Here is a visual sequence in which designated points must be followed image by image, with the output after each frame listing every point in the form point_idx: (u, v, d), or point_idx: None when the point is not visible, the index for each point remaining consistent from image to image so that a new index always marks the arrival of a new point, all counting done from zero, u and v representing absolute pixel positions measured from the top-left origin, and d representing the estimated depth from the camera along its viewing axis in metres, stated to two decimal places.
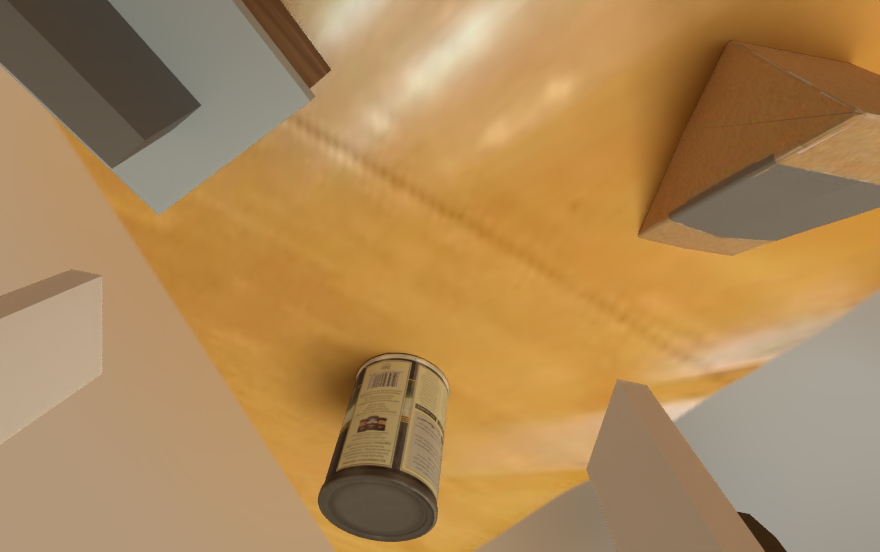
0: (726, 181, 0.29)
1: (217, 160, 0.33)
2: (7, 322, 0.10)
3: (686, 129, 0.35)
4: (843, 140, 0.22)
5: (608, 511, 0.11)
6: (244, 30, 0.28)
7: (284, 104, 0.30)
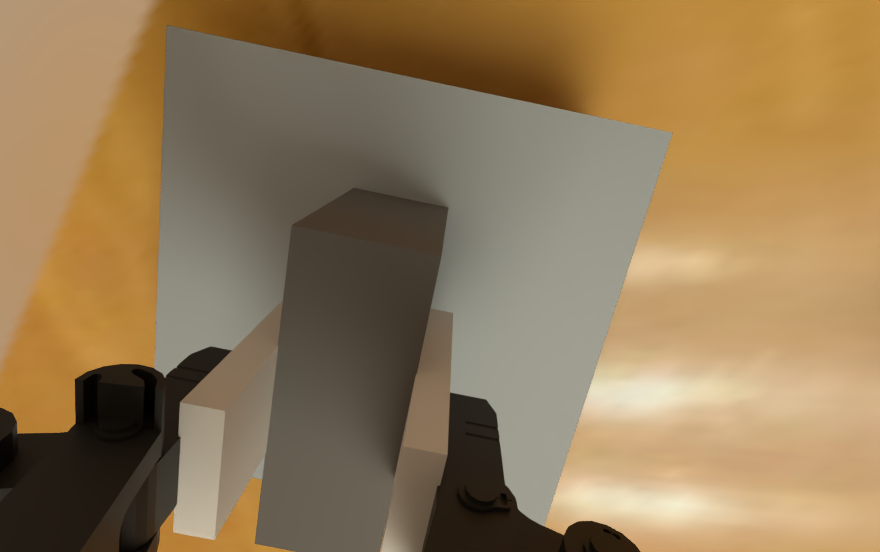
0: None
1: None
2: None
3: None
4: None
5: None
6: (562, 421, 0.18)
7: None
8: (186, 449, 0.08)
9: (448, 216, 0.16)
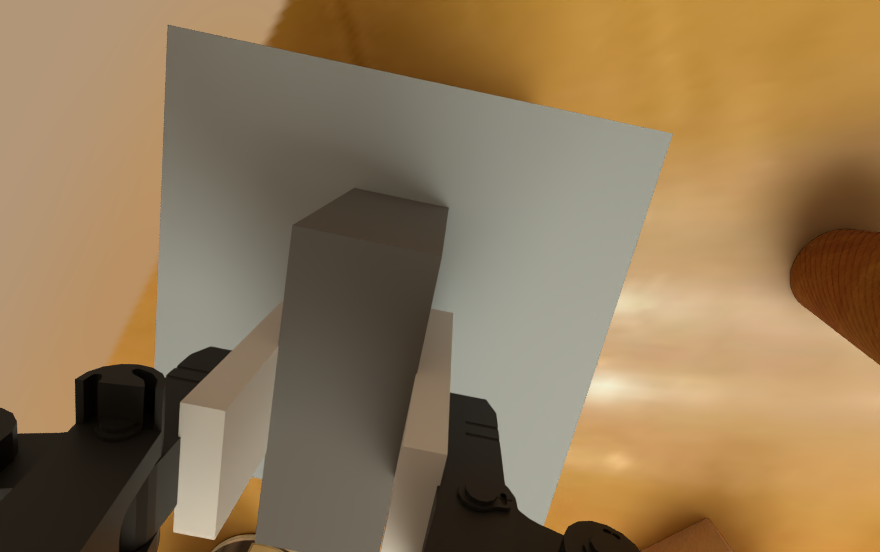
0: None
1: None
2: None
3: (647, 551, 0.43)
4: None
5: None
6: (562, 421, 0.18)
7: None
8: (186, 450, 0.08)
9: (448, 216, 0.16)
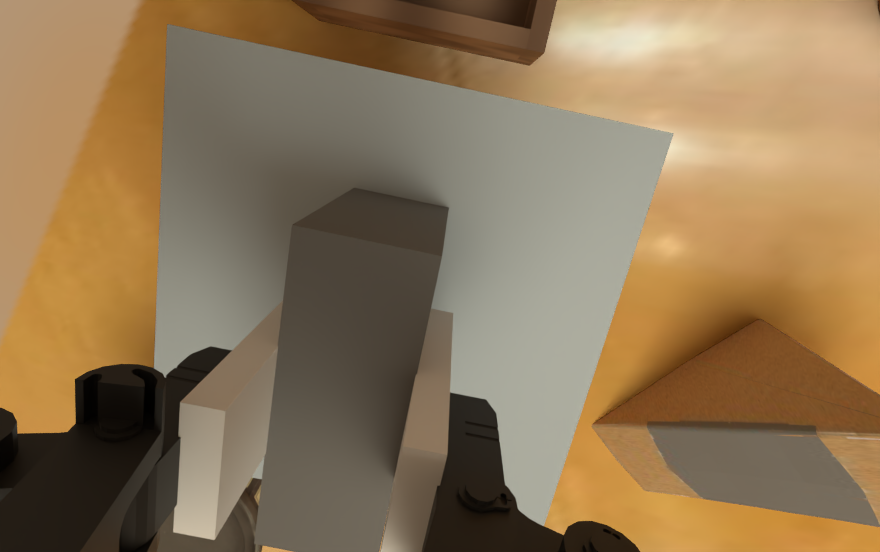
0: (743, 424, 0.31)
1: None
2: None
3: (691, 362, 0.38)
4: None
5: None
6: (562, 421, 0.18)
7: None
8: (186, 449, 0.08)
9: (448, 216, 0.16)
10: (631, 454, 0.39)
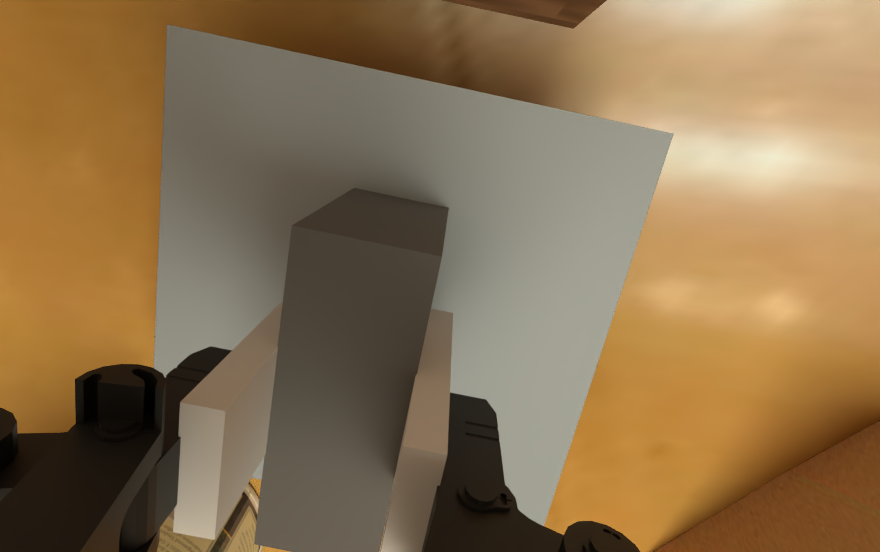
0: None
1: None
2: None
3: (788, 476, 0.26)
4: None
5: None
6: (562, 422, 0.18)
7: None
8: (186, 449, 0.08)
9: (448, 216, 0.16)
10: None
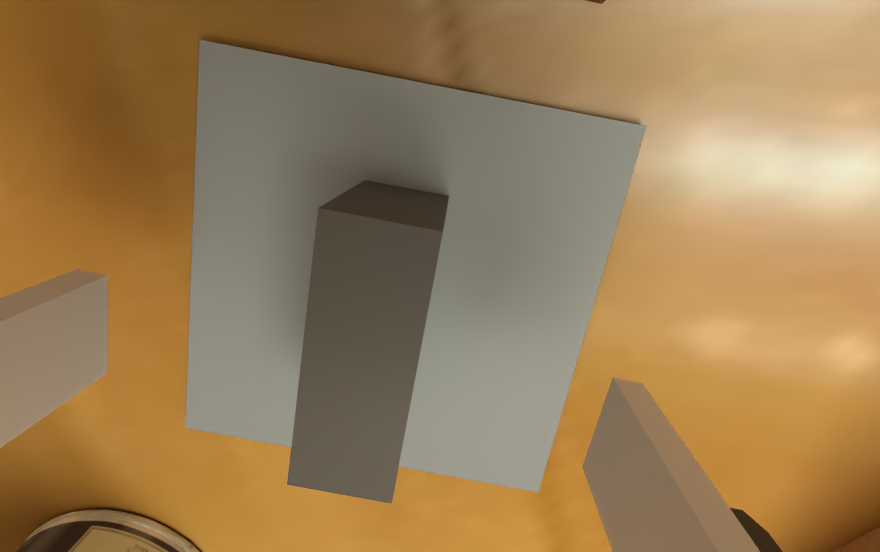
0: None
1: None
2: (15, 321, 0.10)
3: None
4: None
5: (603, 508, 0.12)
6: (555, 387, 0.20)
7: (507, 471, 0.21)
8: None
9: (449, 204, 0.18)
10: None
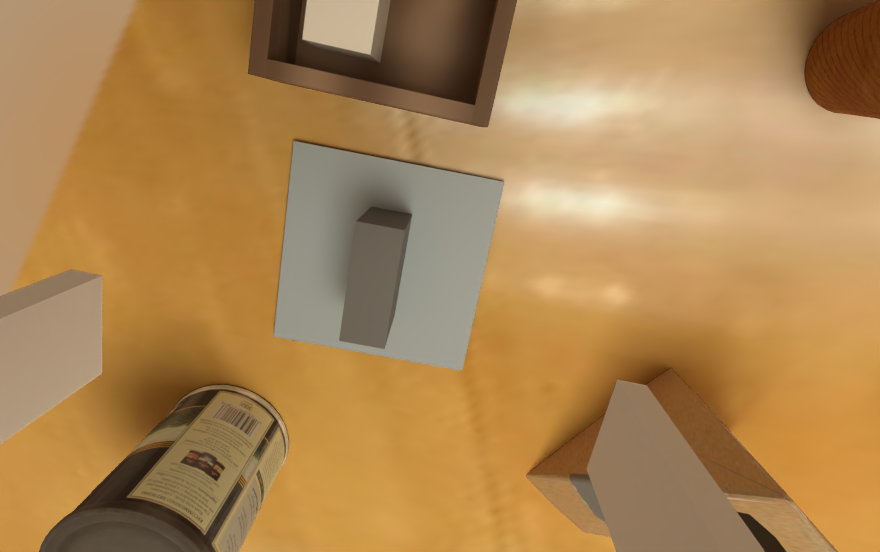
0: None
1: (363, 346, 0.39)
2: (7, 322, 0.10)
3: None
4: (761, 509, 0.27)
5: (608, 511, 0.11)
6: (468, 312, 0.38)
7: (445, 359, 0.39)
8: None
9: (412, 218, 0.36)
10: (563, 501, 0.42)
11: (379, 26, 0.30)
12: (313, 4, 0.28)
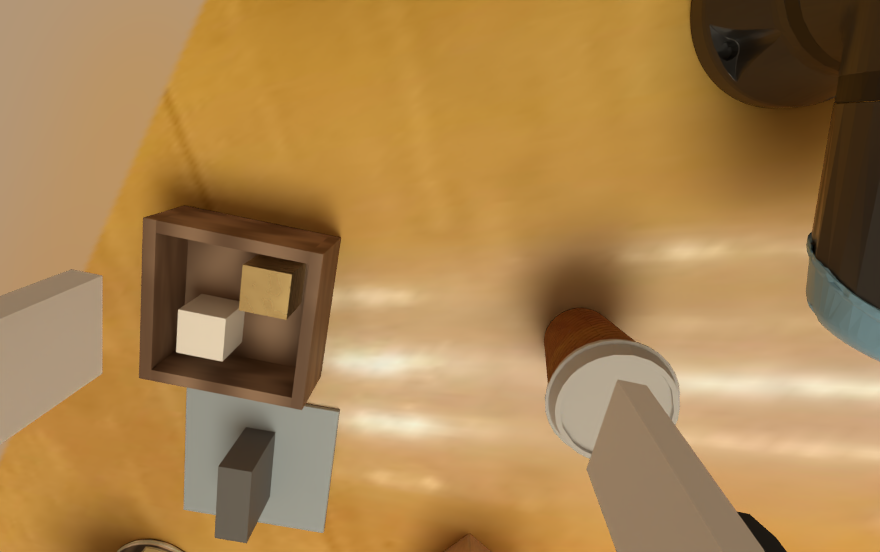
0: None
1: None
2: (7, 322, 0.10)
3: None
4: None
5: (608, 511, 0.11)
6: (323, 494, 0.52)
7: (310, 525, 0.53)
8: None
9: (275, 434, 0.50)
10: None
11: (231, 335, 0.44)
12: (181, 332, 0.42)
